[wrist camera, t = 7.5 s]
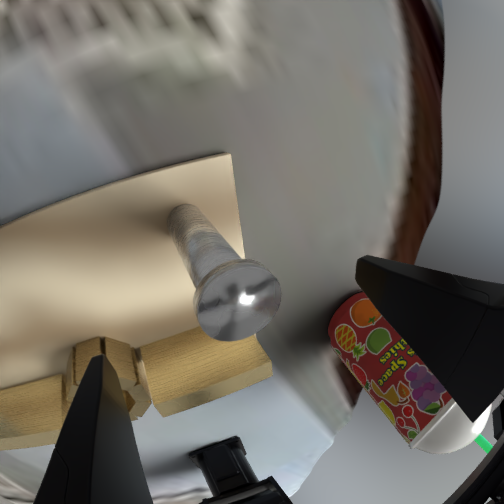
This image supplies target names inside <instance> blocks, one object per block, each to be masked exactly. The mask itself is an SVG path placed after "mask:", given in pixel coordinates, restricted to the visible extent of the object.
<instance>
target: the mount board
mask: <svg viewBox="0 0 504 504" xmlns="http://www.w3.org/2000/svg"><path fill="white" fill-rule="evenodd" d="M181 204H192V205H195V206H196V207H198V208H199V209H200V210H201V212H202V213H203V214H204V215H205V216H206V217H207V219H208V220H209V221H210V222H211V223H212V224H213V226H214V227H215V228H216V229H217V230H218V232H219V233H220V234H221V235H222V236H223V237H224V239H225V240H226V241H227V242H228V243H229V244H230V246H231V247H232V248H233V249H234V250H235V251H236V253H237V254H238V255H239V256H240V257H241V258H242V259H245V255H244V248H243V241H242V233H241V226H240V219H239V212H238V204H237V197H236V190H235V182H234V175H233V167H232V160H231V154H230V153H227V152H226V153H222V154H217V155H212V156H208V157H204V158H199V159H195V160H191V161H187V162H183V163H179V164H175V165H171V166H167V167H163V168H160V169H156V170H152V171H149V172H145V173H142V174H138V175H135V176H132V177H128V178H125V179H122V180H119V181H116V182H112V183H109V184H106V185H103V186H100V187H97V188H94V189H91V190H88V191H86V192H83V193H80V194H77V195H74V196H72V197H69V198H66V199H64V200H61V201H58V202H56V203H53V204H51V205H48V206H46V207H43V208H41V209H38V210H36V211H34V212H31V213H29V214H27V215H24V216H22V217H20V218H17V219H15V220H13V221H11V222H8V223H6V224H4V225H2V226H0V391H1V390H5V389H9V388H13V387H16V386H20V385H24V384H28V383H31V382H35V381H39V380H42V379H46V378H49V377H53V376H56V375H60V374H62V375H63V376H64V377H65V378H66V367H67V361H68V358H69V355H70V352H71V350H72V347H73V346H74V347H76V343H79V342H82V341H85V340H88V339H92V338H95V337H98V336H100V338H101V340H102V341H103V340H104V338H105V336H106V337H109V338H112V339H115V340H118V341H122V342H125V343H128V344H130V348H132V347H134V348H135V350H136V352H137V354H138V356H139V357H140V359H141V361H142V363H143V359H142V354H141V350H140V346H143V345H146V344H149V343H152V342H155V341H158V340H161V339H164V338H167V337H170V336H173V335H175V334H178V333H181V332H184V331H187V330H190V329H193V328H196V327H198V326H200V324H199V322H198V320H197V318H196V315H195V313H194V309H193V297H194V293H195V291H196V288H195V286H194V284H193V282H192V280H191V278H190V276H189V274H188V272H187V270H186V268H185V265H184V263H183V261H182V259H181V257H180V255H179V253H178V251H177V248H176V246H175V244H174V242H173V240H172V238H171V235H170V233H169V231H168V228H167V218H168V215H169V214H170V212H171V211H172V210H173V209H174V208H175V207H177V206H179V205H181ZM254 336H255V338H256V333H255V334H254ZM143 366H144V364H143ZM144 370H145V368H144ZM145 374H146V372H145ZM146 379H147V377H146ZM147 383H148V381H147ZM148 387H149V385H148ZM149 391H150V389H149ZM150 395H151V393H150ZM151 398H152V397H151Z"/></svg>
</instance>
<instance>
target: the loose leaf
mask: <svg viewBox="0 0 504 504" xmlns="http://www.w3.org/2000/svg"><path fill="white" fill-rule="evenodd" d="M69 408H70V406H69V405H68V404H67V401H66V378H65V377H64V376H63V375H62V374H60V375H56V376H53V377H49V378H46V379H42V380H39V381H35V382H31V383H28V384H24V385H20V386H16V387H13V388H9V389H5V390H1V391H0V451H1V450H12V449H21V448H30V447H37V446H44V445H50V444H56V442H57V439H58V436H59V433H60V431H61V428H62V425H63V423H64V420H65V418H66V415H67V413H68V410H69Z"/></svg>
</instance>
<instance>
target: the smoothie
mask: <svg viewBox="0 0 504 504" xmlns="http://www.w3.org/2000/svg"><path fill="white" fill-rule="evenodd" d="M328 335H329V337H330V338H331V347H332V348H333V350H334V351H335V352H336V354H337V355H338V356H339V358H340V359H341V360H342V361H343V363H344V364H345V365H346V366H347V368H348V369H349V370H350V371H351V373H352V374H353V375H354V376H355V378H356V379H357V380H358V381H359V383H360V384H361V385H362V386H363V388H364V389H365V390H366V391H367V393H368V394H369V395H370V396H371V398H372V399H373V400H374V401H375V403H376V404H377V405H378V406H379V408H380V409H381V410H382V412H383V413H384V414H385V415H386V417H387V418H388V419H389V420H390V422H391V423H392V424H393V425H394V427H395V428H396V429H397V431H398V432H399V433H400V434H401V435H402V437H403V438H404V439H405V440H406V442H407V443H408V444H409V447H410V449H413V448H417V449H419V450H422V451H424V452H427V453H431V454H448V453H452V452H455V451H457V450H460V449H462V448H463V447H465V446H467V445H469V444H470V443H472V442H473V441H475V442H477V444H478V445H480V446H481V448H483V450H485V452H486V453H487V454H488V453H489V452H490V450H491V449H492V448H493V446H492V445H491V444H490V443H489V442H488V441H487V440H486V439H485V438H484V437H483V436H482V435H481V434H480V433H481V432H482V430H483V429H484V427H485V425H486V423H487V420H488V418H489V415H490V412H491V406H492V403H491V404H490V406H489V407H488V408H487V409H486V410H485V411H484V412H483V413H482V414H481V415H480V416H479V418H478V419H477V420H476V421H475V422H474V423H472V422H471V421H470V420H469V418H468V417H467V416H466V415H465V413H464V412H463V411H462V409H461V408H460V407H459V406H458V404H457V403H456V402H455V401H454V399H453V398H452V397H451V396H450V394H449V393H448V392H447V391H446V390H445V388H444V386H442V384H441V383H440V382H439V381H438V380H437V378H436V377H435V376H434V375H433V374H432V372H431V371H430V370H429V369H428V368H427V366H426V365H425V364H424V363H423V362H422V361H421V359H420V358H419V357H418V356H417V355H416V354H415V352H414V351H413V350H412V349H411V348H410V347H409V345H408V344H407V343H406V342H405V341H404V340H403V339H402V338H401V336H400V335H399V334H398V333H397V332H396V331H395V330H394V328H393V327H392V326H391V325H390V324H389V323H388V322H387V321H386V320H385V318H384V317H383V316H382V315H381V314H380V313H379V312H378V310H377V309H376V308H375V306H374V305H373V304H372V302H371V301H370V300H369V298H368V297H367V296H366V294H365V293H364V292H361V293H357V294H355V295H353V296H352V297H350V298H348V299H347V300H346V301H345V302H344V303H343V304H342V305H341V306H340V307H339V308H338V309H337V311H336V312H335V313H334V315H333V317H332V319H331V320H330V323H329V326H328Z"/></svg>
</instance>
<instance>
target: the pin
mask: <svg viewBox="0 0 504 504" xmlns="http://www.w3.org/2000/svg"><path fill="white" fill-rule="evenodd" d="M167 228H168V231H169V233H170V235H171V238H172V240H173V242H174V244H175V246H176V248H177V251H178V253H179V255H180V257H181V259H182V261H183V263H184V265H185V268H186V270H187V272H188V274H189V276H190V278H191V280H192V282H193V284H194V286H195V288H196V291H195V293H194V297H193V309H194V313H195V315H196V318H197V320H198V322H199V324H200V326H201V328H202V330H203V331H204V332H205V333H206V334H207V335H208V336H209V337H211V338H213V339H216V340H219V341H226V342H230V341H238V340H242V339H245V338H248V337H250V336H252V335H254V334H255V333H257V332H259V331H260V330H261V329H263V328H264V327H265V326H266V325H267V324H268V323H269V322H270V321H271V320H272V318H273V317H274V315H275V314H276V312H277V310H278V308H279V305H280V301H281V288H280V284H279V282H278V280H277V279H276V278H275V277H274V276H273V275H272V274H271V272H270V271H269V270H268V269H267V268H266V267H265V266H263V265H262V264H261V263H259V262H257V261H254V260H250V259H242V258H241V257H240V256H239V255H238V254H237V253H236V251H235V250H234V249H233V248H232V247H231V246H230V244H229V243H228V242H227V241H226V240H225V239H224V237H223V236H222V235H221V234H220V233H219V232H218V230H217V229H216V228H215V227H214V226H213V224H212V223H211V222H210V221H209V220H208V219H207V217H206V216H205V215H204V214H203V213H202V212H201V210H200V209H199V208H198V207H196V206H195V205H192V204H181V205H179V206H177V207H175V208H174V209H173V210H172V211H171V212H170V214H169V215H168V218H167Z"/></svg>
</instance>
